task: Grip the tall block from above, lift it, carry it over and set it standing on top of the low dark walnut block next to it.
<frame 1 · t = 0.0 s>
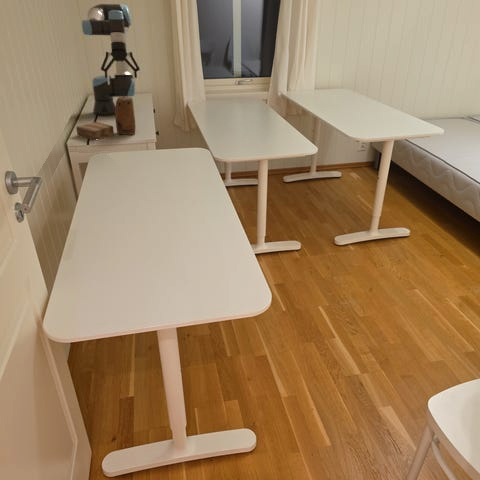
hand: (121, 84, 243), 28 cm above the table, tool tilted 20°, fingers open, 13 cm apart
block: (126, 133, 260), on the table
walnut base: (95, 135, 254), on the table
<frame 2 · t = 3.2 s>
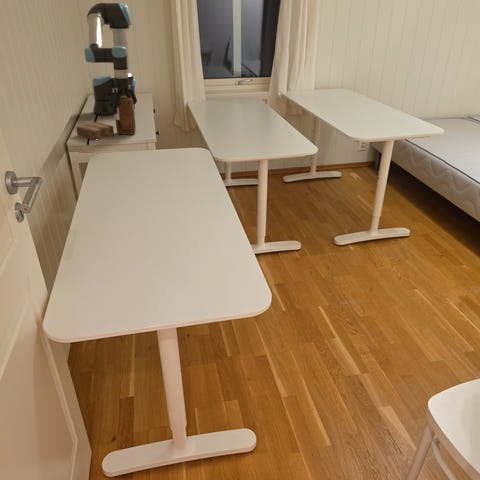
hand: (125, 117, 255), 9 cm above the table, tool pointing down, fingers closed on block, 11 cm apart
block: (126, 133, 260), on the table, touching gripper
when the fingers open (15 cm above the table, at t = 10.3 s): block drops 1 cm, resting on walnut base.
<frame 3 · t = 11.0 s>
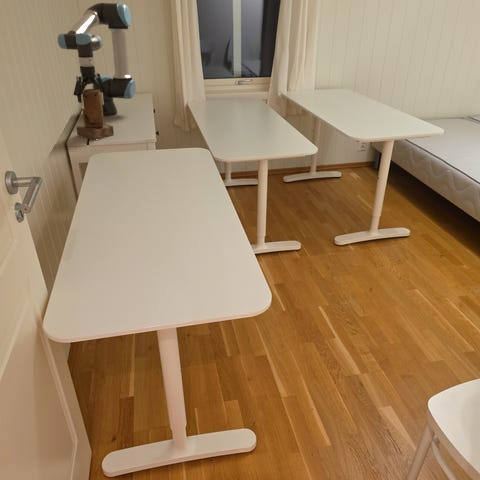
hand: (92, 106, 246), 16 cm above the table, tool pointing down, fingers open, 13 cm apart
block: (94, 126, 252), point 5 cm above the table, touching walnut base
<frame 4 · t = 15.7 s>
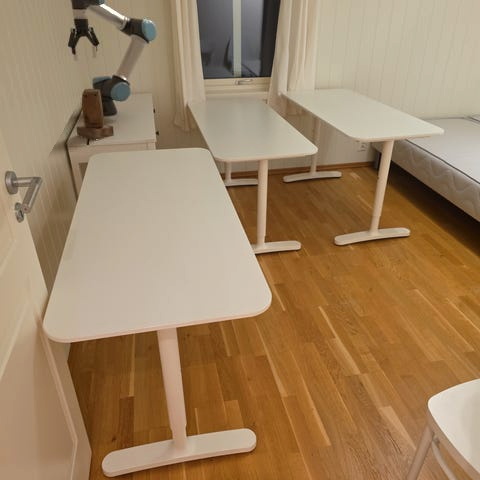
hand: (85, 59, 257), 37 cm above the table, tool pointing down, fingers open, 13 cm apart
nothing on the table moved.
at the end: block inside the target area on the walnut base (0.3 cm from its centre), point 4.8 cm above the walnut base's base; block tilted 0°; the gripper is holding nothing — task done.
